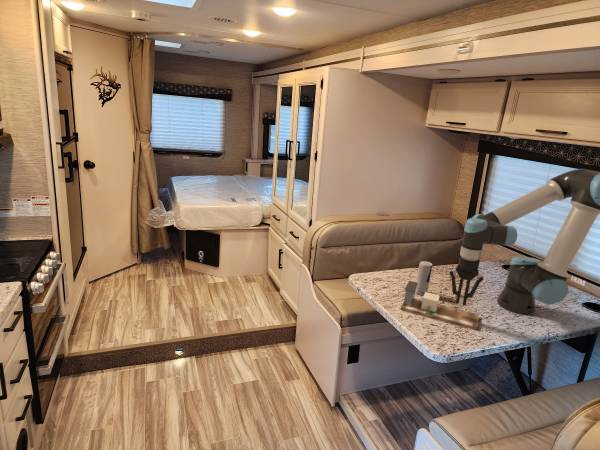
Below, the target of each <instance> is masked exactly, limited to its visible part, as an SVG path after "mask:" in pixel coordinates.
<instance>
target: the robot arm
mask: <svg viewBox="0 0 600 450" xmlns="http://www.w3.org/2000/svg"><path fill="white" fill-rule="evenodd" d="M569 198H571V199H570V201H569V202H570V204H571V209H570V211H569V212H568V214H567V216H566V218H565V220H564V221H563V224H562V225H561V228H560V229H559V231H558V233H557V235H556V236H555V239H554V240H553V243H552V244H551V246H550V248H549V250H548V251H547V253H546V255H545V257H544V259H543V260H540V259H537V258H534V257H529V256H520V255H519V256H514V257H512V258H511V261H510V263H509V269H508V273H507V277H506V281H505V282H506V283H505V286H504V287H503V289H502V290H501V292H500V293H499V295H498V296H497V300H496V302H497V304H498V305H499V306H500V307H502V308H503V309H504V310H506V311H507V310H508V311H509V312H512V313H517V314H521V315H531V313H532V314H534V313H535V312H536V311H535V310H536V306H537V305H536V301H538V302H539V303H541V304H544V305H555V304H557V303H560V302H562V301H563V300H564V299H565V298H567V296H568V294H569V285H568V284H567V281H568V279H569V277H570V275H569V274H568V270H569V268H570V266H571V264H572V262H573V261H574V259H575V257H576V255H577V253H578V251H579V249H580V248H581V246H582V244H583V242H584V240H585V239H586V237H587V235H588V233H589V231H590V229H591V228H592V226H593V225H594V222H595V221H596V219H597V218H598V216H600V171H596V170H592V169H588V168H577V169H573V170H569V171H566V172H564V173H561V174H558V175H556V176H553V177H552V178H551V179H549V180H547V181H546V184H544V185H542V186H540V187H538V188H536V189H534V190H532V191H530V192H528V193H526V194H524V195H522V196H519V197H518V198H516V199H514V200H512V201H510V202H508V203H506V204H504V205H502V206H500V207H498V208H496V209H494V210H492V211H490V212H488V213H486V214H482V213H479V214H478V213H477V214H474V215H473V216H472V217H470V218H468V219H467V220H466V222H465V225H464V229H463V236H462V243H461V246H460V252H459V255H460V256H459V257H458V263H457V266H456V267H455V268H453V269H449V272H448V273H449V275H450V278H451V289H452V294H453V295H455V296H456V299H455V304H458V305H457V309H458V310H457V312H460V313H461V310H463V306H466V304H467V299H472V298H473V296H474V295H475V293H476V291H477V290H478V287H479V285H480V283H482V282H483V281H484V276H483V275H481V274H480V272H479V268H480V267H479V266H480V259H481V257H482V252H483V247H484V245H495V246H496V245H498V246H512V245H515V244H516V242H517V239H518V231H517V229H516V227H514V226H513V225H508V224H510V223H512V222H514V221H516V220H519V219H520V218H523V217H524V216H527V215H529V214H530V213H533V212H535V211H536V210H540V209H542V208H544V207H545V206H547V205H549V204H552V203H553V202H555V201H557V202H560V201H563V200H565V199H569ZM456 274H457V276H458V277H459V283H458V284H459V285H458V289H457V283H456ZM475 278H476V280H475V282H474V284H473V286H472V288H471V289H470V285H471V281H472V280H473V279H475ZM464 280H466V284H465V289H464V294H463V295H462V290H463V284H464ZM469 289H470V291H469ZM533 312H534V313H533Z"/></svg>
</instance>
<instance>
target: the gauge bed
mask: <svg viewBox="0 0 600 450" xmlns="http://www.w3.org/2000/svg"><path fill="white" fill-rule="evenodd" d="M422 301H423V299H418V298H415V297H414V300H413V303H412V305H411V307H409V306H404V305H403V304H404V301H403V302H402V304H401V306H400V311H403V312H407V313H410V314H414V315H418V316H422V317H425V318H430V319H433V320H437V321H440V322H444V323H449V324H452V325H456V326H459V327H463V328H466V329H470V330H475V331H478V329H479V316H480V314H478V313H474V312H469V311H467V310H463V309H462V310H461V313H460V312H457V310H458V308H454V307H451V306H447V305H446V306H445V305H442V304H439V303H438V307H437V310H436V312H432V311H427V310H425V309H421V306H422Z"/></svg>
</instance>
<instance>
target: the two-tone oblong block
mask: <svg viewBox="0 0 600 450" xmlns="http://www.w3.org/2000/svg"><path fill="white" fill-rule="evenodd" d="M417 285H418V283H417V282H416V281H412V280H408V282H407V284H406V286H405V288H404V291H405V293H404V299H403V302H404V304H403V303H402V304H403V305H404V306H409V307H411V305H412V303H413V300H414V298H415V296H416V292H415V291H416V287H417Z"/></svg>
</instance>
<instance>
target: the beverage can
mask: <svg viewBox="0 0 600 450" xmlns="http://www.w3.org/2000/svg"><path fill="white" fill-rule="evenodd" d="M432 270H433V263H431V262H430V261H427V260H425V261H424V260H422V261H420V262H419V265H418V272H417V276H416V281H415V282H417V283H418V285H417V287H416V291H415V294H417V295H421V296H424V294H425V292H427V293H429V287H430V281H431V275H432Z"/></svg>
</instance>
